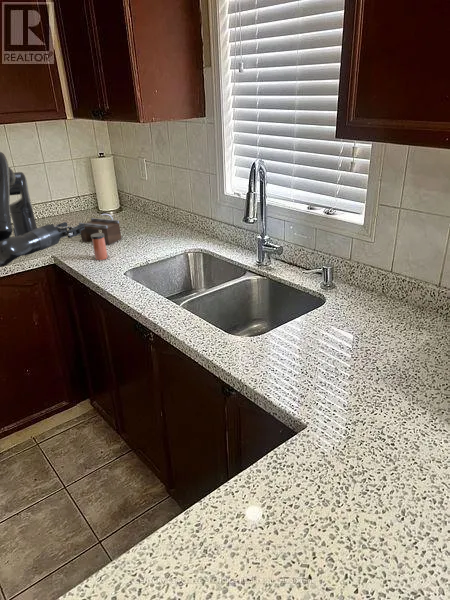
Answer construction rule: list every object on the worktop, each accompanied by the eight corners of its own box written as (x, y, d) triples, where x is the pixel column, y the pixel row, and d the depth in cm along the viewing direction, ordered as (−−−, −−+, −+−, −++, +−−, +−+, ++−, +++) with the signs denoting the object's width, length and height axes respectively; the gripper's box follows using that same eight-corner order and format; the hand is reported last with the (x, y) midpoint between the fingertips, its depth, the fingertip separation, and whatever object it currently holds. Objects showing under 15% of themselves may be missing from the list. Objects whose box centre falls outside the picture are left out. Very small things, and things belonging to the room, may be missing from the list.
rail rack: (82, 241, 208) (78, 223, 204) (94, 235, 215) (91, 217, 212) (109, 244, 202) (106, 226, 198) (121, 238, 209) (118, 220, 205)
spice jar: (92, 259, 185) (87, 236, 181) (100, 254, 190) (96, 232, 185) (102, 260, 183) (98, 237, 179) (110, 256, 187) (107, 233, 183)
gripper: (55, 229, 152) (87, 217, 165) (25, 225, 158) (59, 214, 171) (60, 250, 155) (91, 236, 169) (30, 246, 161) (63, 233, 174)
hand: (75, 225), depth 170 cm, fingers open, 8 cm apart
